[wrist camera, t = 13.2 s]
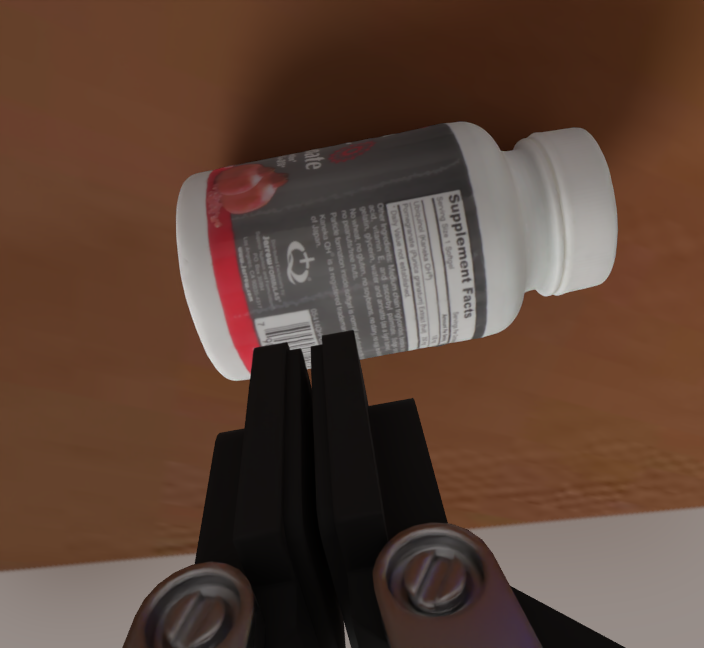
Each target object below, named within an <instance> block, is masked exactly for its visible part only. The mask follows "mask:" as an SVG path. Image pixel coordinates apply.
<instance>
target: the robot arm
mask: <svg viewBox="0 0 704 648" xmlns="http://www.w3.org/2000/svg"><path fill="white" fill-rule="evenodd" d="M311 376H312V388H311V384H310V380H309V376H308V372H307V368H306V364H305V360H304V356H303V352H302V349H301V348H298V349H293V350H290V348H289V345H288V343H287V342H283V343H278V344H272V345H267V346H261V347H256V348H254V350H253V358H252V367H251V376H250V385H249V394H248V403H247V412H246V421H245V429H239V430H234V431H228V432H223V433H219V434H218V435H217V438H216V441H215V447H214V452H213V458H212V464H211V470H210V476H209V482H208V488H207V494H206V500H205V506H204V512H203V518H202V524H201V530H200V535H199V541H198V547H197V553H196V559H195V564H194V565H191V566H188V567H186V568H184V569H181V570H179V571H177V572H175V573H173V574H172V575H170V576H169V577H168V578H166V579H165V580H163V581H162V582H161V583H159V584H158V585H157V586H156V587H155V588H154V589H153V590H152V592H151V593H150V594H149V595H148V596H147V597H146V598H145V599H144V601H143V603H142V605H141V606H140V608H139V610H138V612H137V614H136V615H135V617H134V620H133V623H132V625H131V628H130V630H129V633H128V635H127V638H126V640H125V643H124V645H123V648H346V647H345V633H344V623H345V627H346V630H347V634H348V637H349V641H350V645H351V648H625V647H623V646H621V645H619V644H618V643H616V642H614V641H612V640H610V639H608V638H606V637H605V636H603V635H601V634H599V633H597V632H595V631H593V630H592V629H590V628H588V627H586V626H584V625H582V624H580V623H579V622H577V621H575V620H573V619H571V618H569V617H567V616H566V615H564V614H562V613H560V612H558V611H556V610H554V609H552V608H551V607H549V606H547V605H545V604H543V603H541V602H539V601H538V600H536V599H534V598H532V597H530V596H528V595H526V594H524V593H523V592H521V591H519V590H517V589H515V588H513V587H511V586H510V585H509V583H508V581H507V580H506V577H505V576H504V574H503V572H502V570H501V568H500V566H499V564H498V562H497V561H496V559H495V557H494V555H493V553H492V552H491V551H490V549H489V548H488V547H487V545H486V544H485V543H484V541H483V540H482V539H480V538H479V537H478V536H476V535H475V534H473V533H472V532H470V531H469V530H467V529H464V528H461V527H459V526H456V525H453V524H448V522H447V519H446V515H445V511H444V508H443V504H442V500H441V496H440V493H439V489H438V485H437V482H436V478H435V474H434V471H433V467H432V463H431V459H430V456H429V452H428V448H427V445H426V441H425V437H424V433H423V430H422V426H421V422H420V419H419V415H418V411H417V407H416V404H415V401H414V399H413V398H411V399H406V400H400V401H395V402H389V403H384V404H378V405H372V406H368V401H367V395H366V390H365V385H364V380H363V375H362V369H361V364H360V359H359V354H358V348H357V343H356V338H355V333H354V330H349V331H344V332H338V333H333V334H327V335H322V344H320V345H315V346H311Z"/></svg>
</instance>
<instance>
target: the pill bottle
mask: <svg viewBox="0 0 704 648" xmlns="http://www.w3.org/2000/svg"><path fill="white" fill-rule="evenodd" d="M617 233H618V223H617V208H616V202H615V196H614V190H613V186H612V181H611V176H610V172H609V168H608V165H607V163H606V160H605V157H604V155H603V153H602V151H601V149H600V147H599V145H598V144H597V142H596V140H595V139H594V138H593V137H592V135H591V134H590V133H588V132H587V131H586V130H585V129H582V128H574V127H573V128H567V129H560V130H554V131H547V132H537V133H533V134H531V135H530V136H528V137H527V138H523V139H521V140H520V141H518V142H517V143H516V145H515V147H514V149H513V150H511V151H501V150H500V149H499V147H498V145H497V144H496V142H495V141H494V139H493V138H492V137H491V136H490V135H489V134H488V133H487V132H486V131H485V130H484V129H482V128H481V127H479V126H477V125H475V124H472V123H468V122H453V123H442V124H437V125H432V126H428V127H424V128H420V129H416V130H411V131H406V132H402V133H397V134H391V135H385V136H382V137H377V138H370V139H365V140H361V141H355V142H349V143H344V144H340V145H335V146H330V147H325V148H320V149H314V150H310V151H305V152H301V153H295V154H290V155H285V156H280V157H274V158H269V159H265V160H259V161H254V162H248V163H244V164H239V165H233V166H227V167H223V168H219V169H216V170H212V171H206V172H201V173H197V174H194V175H192V176H190V177H189V178H188V179H187V180H186V181H185V182H184V183H183V185H182V187H181V190H180V194H179V197H178V203H177V213H176V236H177V249H178V258H179V266H180V273H181V279H182V283H183V288H184V292H185V297H186V300H187V303H188V306H189V309H190V313H191V316H192V319H193V321H194V324H195V327H196V330H197V332H198V335H199V337H200V339H201V342H202V344H203V346H204V349H205V351H206V354H207V355H208V357H209V359H210V360H211V362H212V363H213V364H214V366H215V368H216V369H217V370H218V371H219V372H220V373H221V374H222V375H223V376H224V377H226V378H227V379H230V380H235V381H239V380H247V379H250V376H251V367H252V358H253V350H254V348H256V347H261V346H267V345H272V344H278V343H283V342H287V343H288V345H289V348H290V350H293V349H298V348H301V349H302V352H303V356H304V360H305V364H306V368H307V369H310V368H311V346H315V345H320V344H322V335H327V334H333V333H338V332H344V331H349V330H354V333H355V338H356V343H357V348H358V354H359V359H360V360H361V359H366V358H371V357H376V356H381V355H387V354H392V353H397V352H404V351H410V350H414V349H420V348H426V347H437V346H442V345H445V344H448V343H452V342H459V341H464V340H469V339H476V338H482V337H485V336H488V335H492V334H496V333H498V332H500V331H502V330H504V329H505V328H507V327H508V326H509V325H510V324H511V323H512V322H513V320H514V319H515V318H516V316H517V314H518V312H519V310H520V308H521V305H522V302H523V298H524V293H525V292H527V291H530V290H534V289H536V291H537V292H538V293H540V294H541V295H543V296H550V295H552V294H553V295H556V296H558V295H562V294H564V293H567V292H571V291H575V290H580V289H584V288H588V287H593V286H597V285H599V284H601V283H603V282H604V281H605V280H606V279H607V278H608V276H609V274H610V272H611V270H612V267H613V263H614V260H615V256H616V247H617Z"/></svg>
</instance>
